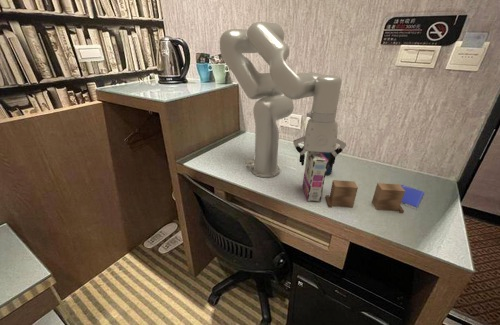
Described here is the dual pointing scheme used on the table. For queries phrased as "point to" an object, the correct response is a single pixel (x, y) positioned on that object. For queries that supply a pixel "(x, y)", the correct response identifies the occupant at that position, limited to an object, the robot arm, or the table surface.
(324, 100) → the robot arm
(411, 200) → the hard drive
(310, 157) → the candy bar box
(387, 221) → the table surface
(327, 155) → the soda can
